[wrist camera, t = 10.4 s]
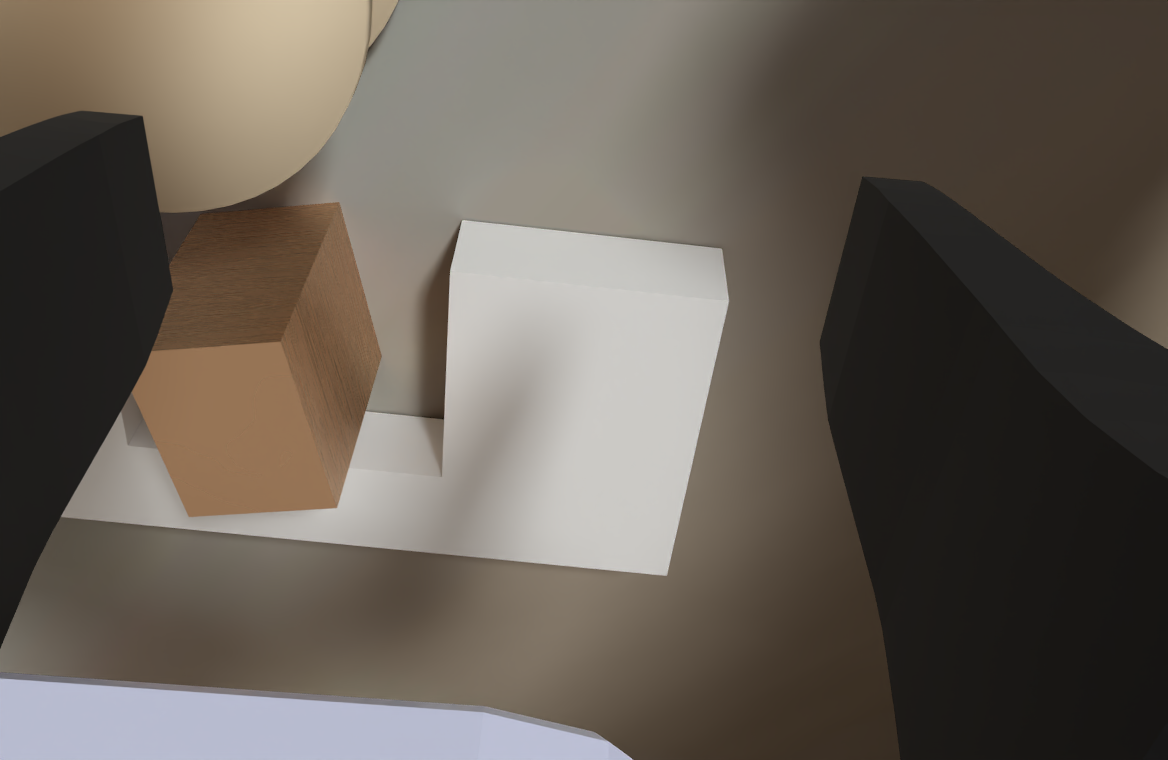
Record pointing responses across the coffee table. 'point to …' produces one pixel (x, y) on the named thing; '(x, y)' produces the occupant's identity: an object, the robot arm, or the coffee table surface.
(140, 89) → the bobbin
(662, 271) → the board
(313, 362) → the block
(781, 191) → the coffee table surface
